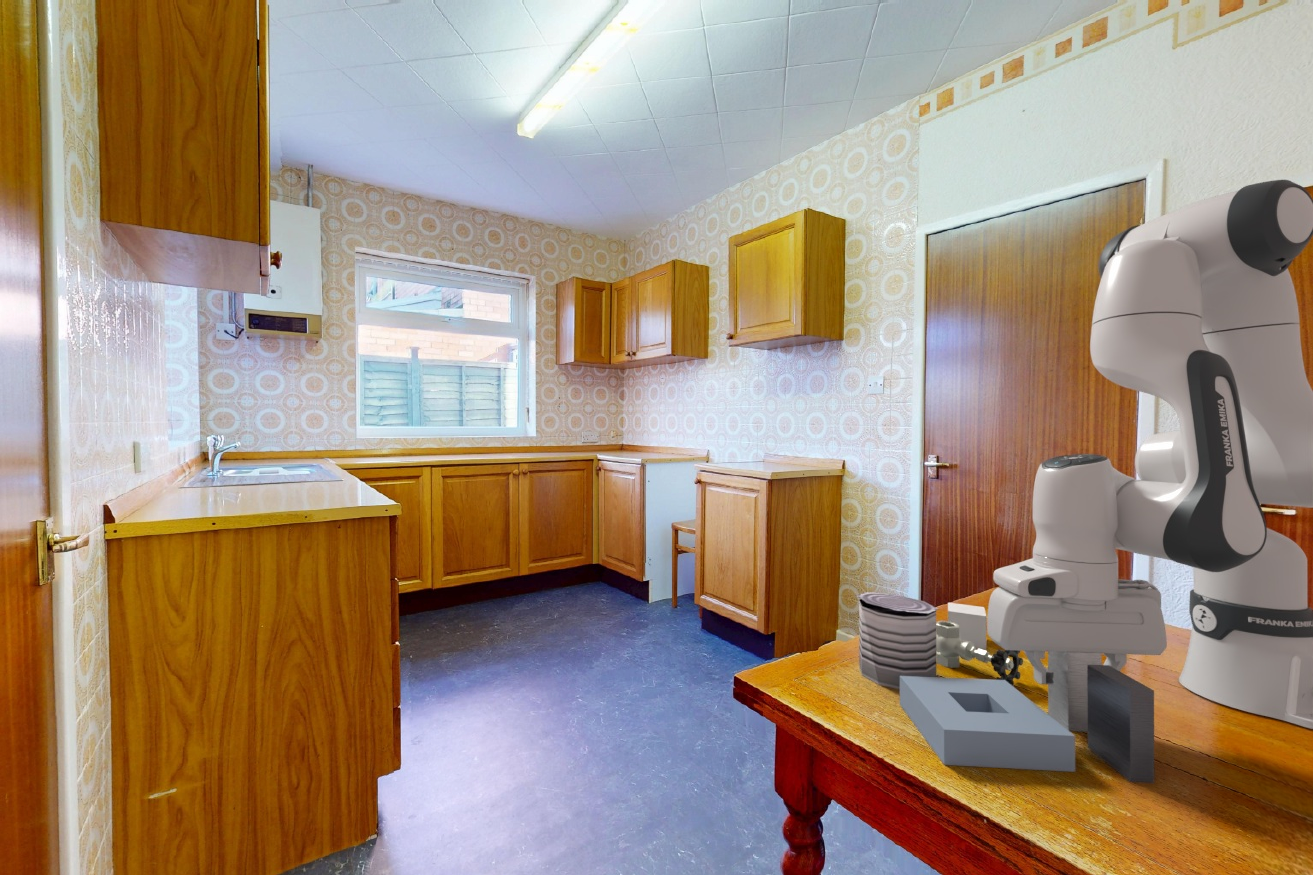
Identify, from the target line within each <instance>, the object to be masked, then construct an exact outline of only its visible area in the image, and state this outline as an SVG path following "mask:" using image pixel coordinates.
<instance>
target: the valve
mask: <svg viewBox="0 0 1313 875" xmlns="http://www.w3.org/2000/svg"><path fill="white" fill-rule="evenodd" d="M1020 653H1021V651H1017V650H1005V649H1004V650H1002V649H997V651H996V652H995V653H993V654H992V655H991V654H990V652H989V651H987V650H986V649H980V648H975V646H974V644H973V643H972V642H970V641H966V640H964V641H961V639H960V637H959V625H958V624H956V623H954V622H950V621H948V620H939V621H936V665H940V666H943V667H945V668H960V659H961V660H965V661H968V662H970V661H971V660H972V659H976V660H977V661H979V662H982V663H985V664H988V663H989V662H990V664H991V666H992V668H993V671H994V672H996V673H997V674H998V676H996V678H995V680H1006V681H1007V682H1008V683H1009V684H1011V685H1012V686H1013V687H1014V685H1015V682H1014V679H1015V680H1019V679H1021V672H1020V671H1019V666H1023V664H1024V659H1023V658H1022V657H1019V654H1020ZM1010 658H1012V659H1010ZM1006 671H1008V672H1009V673H1008V674H1007V673H1006Z"/></svg>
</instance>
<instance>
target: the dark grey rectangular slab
mask: <svg viewBox="0 0 1313 875" xmlns="http://www.w3.org/2000/svg"><path fill="white" fill-rule="evenodd" d="M1087 696H1088V732H1087V749H1089V750H1090V751H1091V752H1092V753H1094V754H1095V755H1096V756H1098V757H1099V759H1100V760H1102V761H1104V762H1105V763H1106V764H1107V765H1108V766H1110V767H1111V768H1113V770H1115V771H1116V772H1117V773H1119V774H1120V775H1121V776H1122V777H1124V778H1125V779H1126V780H1127V781H1129V782H1130V783H1146V784H1155V690H1154V689H1152V688H1150V686H1147V685H1145V684H1143V683H1141V682H1140V681H1137V680H1136V679H1134V678H1132V677H1131V676H1128V675H1127V674H1125V673H1123V672H1122V671H1118V670H1116V669H1114V668H1113V667H1111V666H1109V665H1103V664H1102V665H1087Z"/></svg>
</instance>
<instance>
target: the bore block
mask: <svg viewBox="0 0 1313 875" xmlns="http://www.w3.org/2000/svg"><path fill="white" fill-rule="evenodd" d="M899 705H900V707H901V709H902V710H903V711H904V713H905V714H906V715H907V717H908V718H909V719H910V721H911V722H912V723H913V724H914V726H915V727H916V729H917V730H918V731H919V733H920V734H921V736H923V738H924V739H925V741H926V742H927V743H928V744H929V747H930V748H931V749H932V750H933V751H934V753H935V754H936V756H937V757H938V759H939V760H940V761H941V762H942V764H943V765H944V766H962V767H963V766H964V767H980V768H981V767H982V768H998V769H999V768H1000V769H1016V770H1017V769H1019V770H1034V771H1053V772H1055V771H1056V772H1070V773H1071V772H1072V773H1073V772H1074V773H1076V735H1074V734H1073V733H1072V731H1068V730H1067V729H1066V728H1065V727H1063V726H1062V725H1061V724H1060V723H1058V722H1057V721H1056V720H1055V719H1053V718H1052V717H1051V716H1049V715H1048V713H1047V712H1046V711H1045V710H1043V709H1042V708H1041V707H1039V706H1038V705H1037V704H1036V703H1035V702H1033V701H1032V700H1031V699H1029V698H1028V697H1027V696H1025V695H1024V694H1023V693H1022V692H1021V691H1019V690H1018V689H1017V688H1016V687H1014V685H1013V686H1012V685H1011V684H1009V683H1008V682H1007V681H1006V680H996V679H989V678H988V679H986V678H966V677H965V678H964V677H963V678H961V677H959V678H958V677H957V678H956V677H938V676H936V677H917V676H900V690H899Z"/></svg>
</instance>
